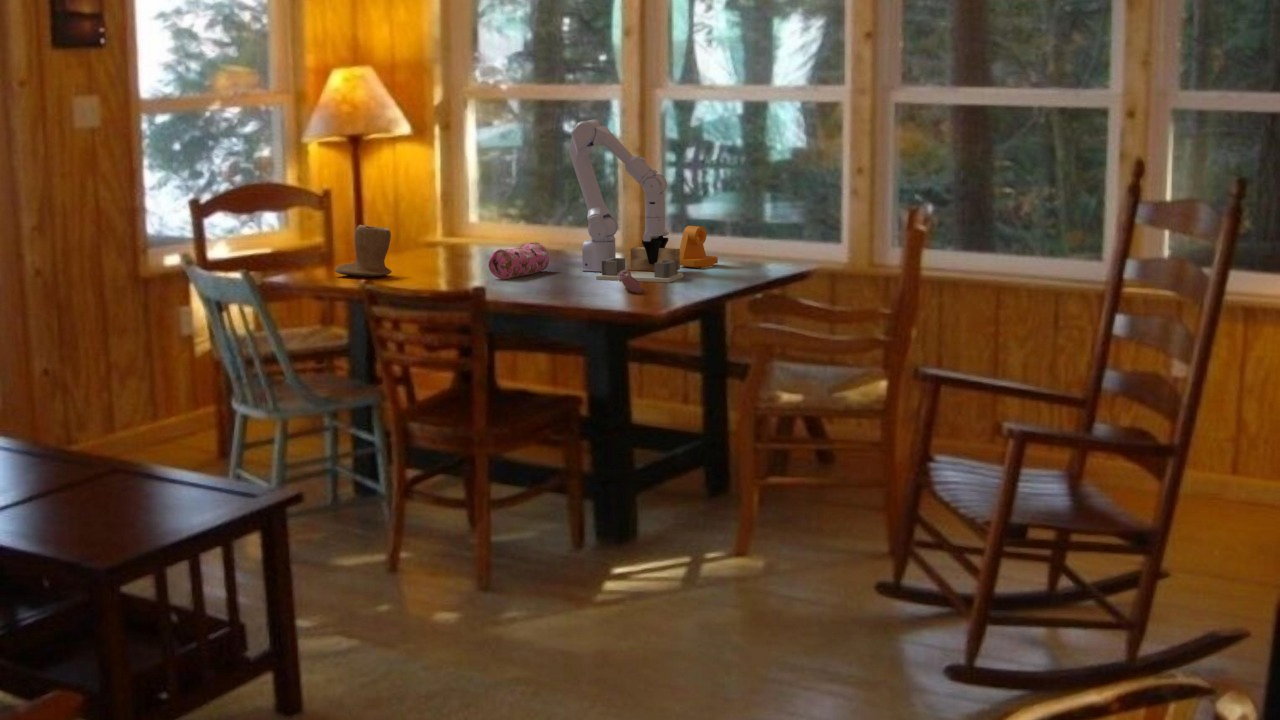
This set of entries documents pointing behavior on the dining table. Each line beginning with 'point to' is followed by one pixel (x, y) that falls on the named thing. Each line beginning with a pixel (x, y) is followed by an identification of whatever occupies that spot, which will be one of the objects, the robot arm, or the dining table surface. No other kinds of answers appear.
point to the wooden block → (641, 259)
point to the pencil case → (519, 261)
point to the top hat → (368, 253)
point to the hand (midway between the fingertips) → (655, 263)
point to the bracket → (695, 249)
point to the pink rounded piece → (629, 282)
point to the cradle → (662, 272)
